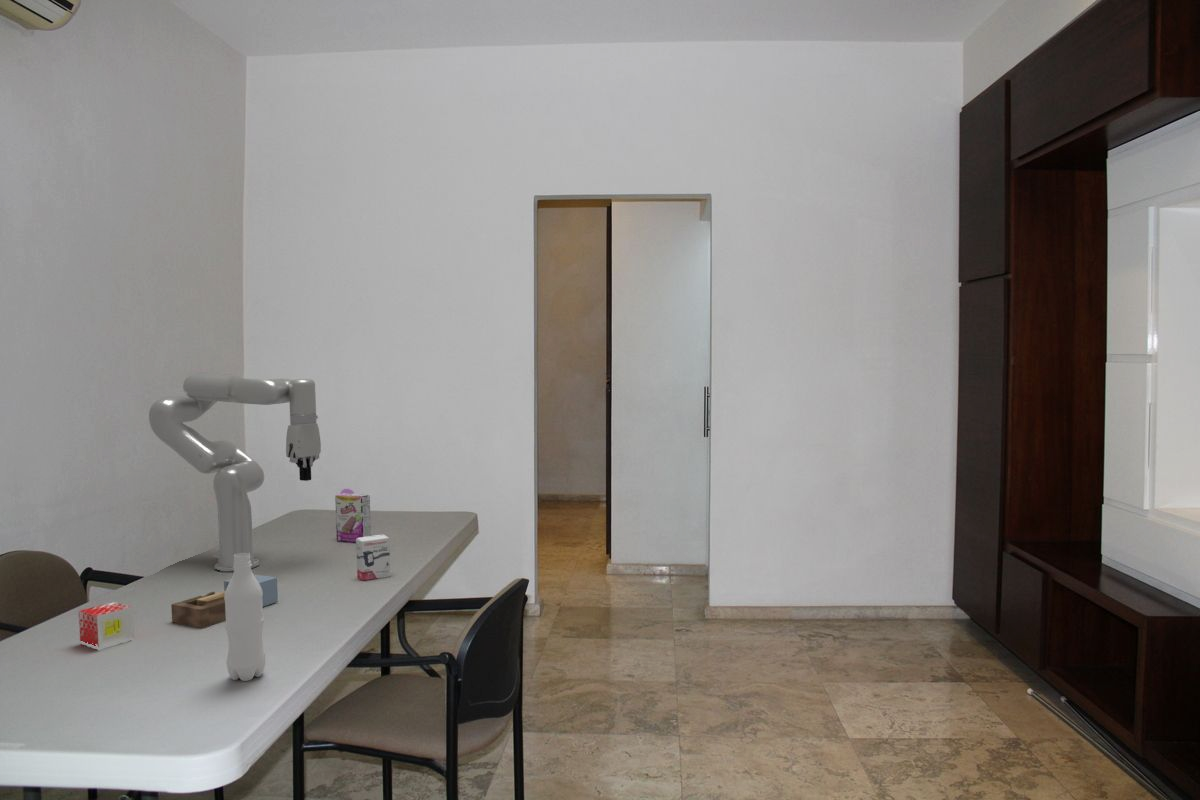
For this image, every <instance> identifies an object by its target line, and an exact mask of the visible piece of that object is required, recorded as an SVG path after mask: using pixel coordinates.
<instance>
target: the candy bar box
mask: <svg viewBox="0 0 1200 800" xmlns="http://www.w3.org/2000/svg"><path fill="white" fill-rule="evenodd" d="M370 497H371V496H370V494H359V493H354V494H346V493H343V494H340V493H339V494H336V495H335V520H336V521H335V525H336V527H335V528H336V542H338V541H347V542H346V543H352V542H356V539H357V538H360V537H367V536H372V531H371V529H372V528H371V527H372V526H371V498H370Z"/></svg>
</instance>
